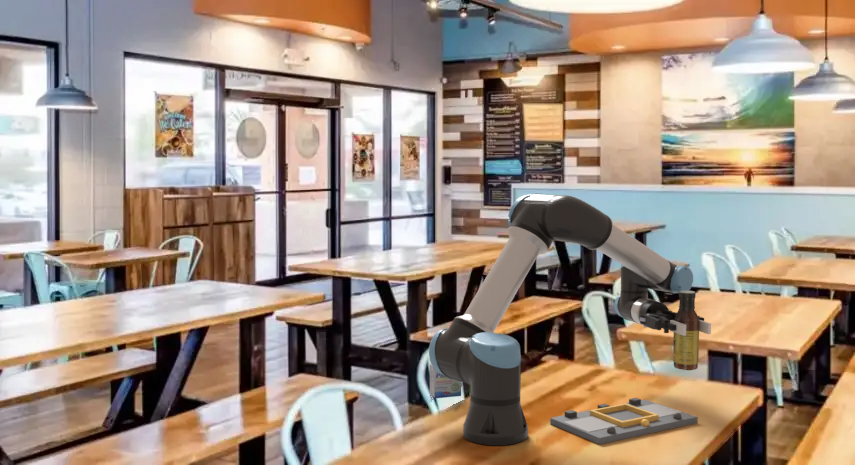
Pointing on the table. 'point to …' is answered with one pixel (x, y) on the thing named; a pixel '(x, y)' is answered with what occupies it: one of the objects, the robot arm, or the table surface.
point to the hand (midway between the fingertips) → (697, 329)
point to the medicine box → (443, 385)
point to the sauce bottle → (687, 333)
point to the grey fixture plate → (622, 420)
